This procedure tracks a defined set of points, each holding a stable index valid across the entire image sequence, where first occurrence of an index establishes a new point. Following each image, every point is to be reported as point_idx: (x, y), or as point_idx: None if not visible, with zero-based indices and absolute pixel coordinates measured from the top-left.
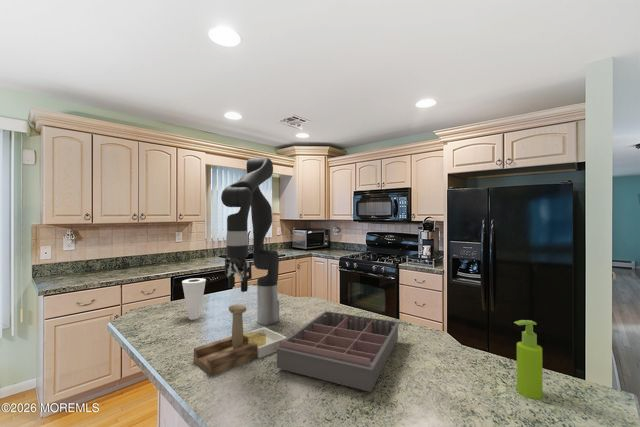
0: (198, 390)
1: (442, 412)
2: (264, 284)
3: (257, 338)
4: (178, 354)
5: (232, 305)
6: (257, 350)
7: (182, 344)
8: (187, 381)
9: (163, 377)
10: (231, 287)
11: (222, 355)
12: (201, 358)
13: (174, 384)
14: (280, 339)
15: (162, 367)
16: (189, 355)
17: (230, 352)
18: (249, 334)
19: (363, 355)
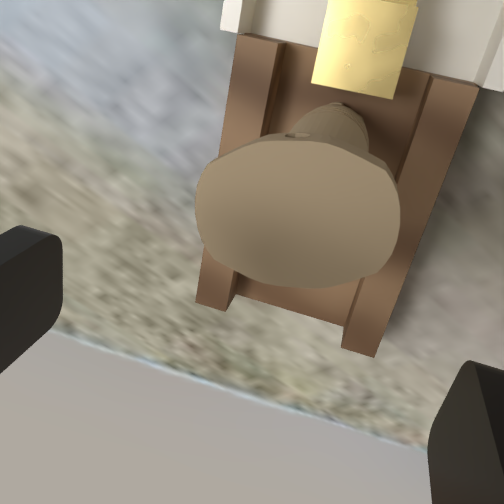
0: (417, 401)
1: None
2: None
3: (415, 6)
4: (105, 256)
5: (204, 206)
6: (426, 27)
7: (22, 184)
8: (329, 377)
9: (231, 387)
10: (60, 285)
11: (383, 298)
12: (258, 287)
13: (306, 402)
14: None
15: (162, 346)
16: (148, 242)
17: (397, 257)
18: (361, 48)
19: None
